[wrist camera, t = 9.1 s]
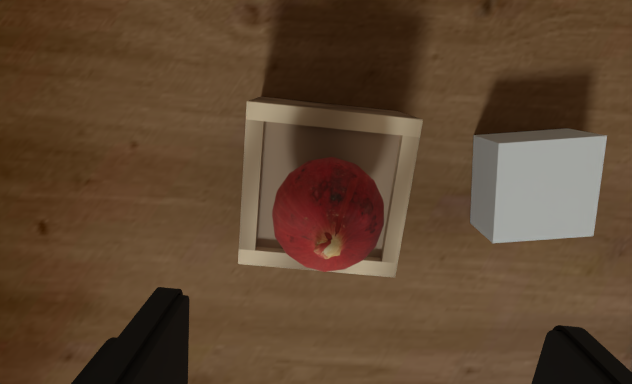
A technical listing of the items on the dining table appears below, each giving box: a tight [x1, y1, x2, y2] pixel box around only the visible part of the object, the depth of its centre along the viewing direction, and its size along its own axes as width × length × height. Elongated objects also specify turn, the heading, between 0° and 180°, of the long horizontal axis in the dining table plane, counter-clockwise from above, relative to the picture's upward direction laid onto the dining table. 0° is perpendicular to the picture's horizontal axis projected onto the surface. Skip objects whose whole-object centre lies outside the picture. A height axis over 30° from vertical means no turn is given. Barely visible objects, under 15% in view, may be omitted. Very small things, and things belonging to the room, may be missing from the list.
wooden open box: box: [238, 97, 423, 277], centre depth 26 cm, size 10×10×7 cm
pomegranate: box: [272, 157, 384, 272], centre depth 20 cm, size 6×6×8 cm
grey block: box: [470, 128, 607, 243], centre depth 28 cm, size 7×7×4 cm
